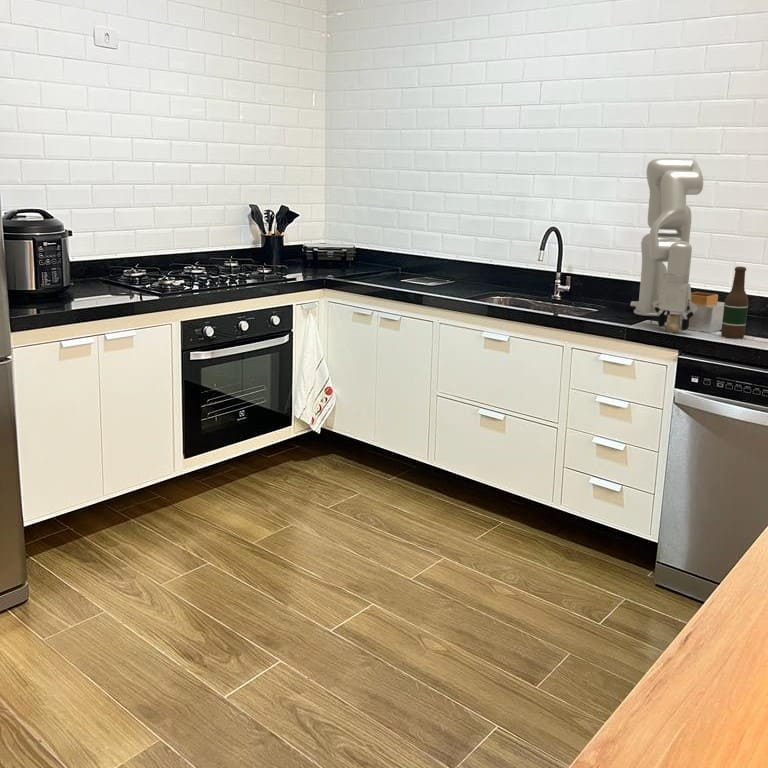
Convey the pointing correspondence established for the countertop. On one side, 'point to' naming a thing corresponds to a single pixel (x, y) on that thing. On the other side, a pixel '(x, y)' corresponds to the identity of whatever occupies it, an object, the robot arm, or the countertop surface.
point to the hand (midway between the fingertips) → (672, 327)
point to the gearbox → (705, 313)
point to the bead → (673, 323)
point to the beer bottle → (735, 307)
